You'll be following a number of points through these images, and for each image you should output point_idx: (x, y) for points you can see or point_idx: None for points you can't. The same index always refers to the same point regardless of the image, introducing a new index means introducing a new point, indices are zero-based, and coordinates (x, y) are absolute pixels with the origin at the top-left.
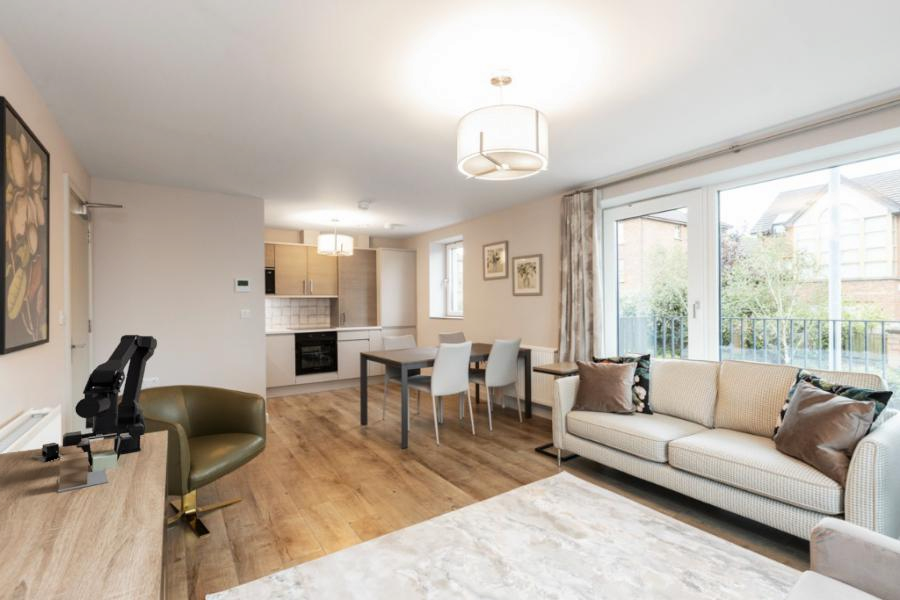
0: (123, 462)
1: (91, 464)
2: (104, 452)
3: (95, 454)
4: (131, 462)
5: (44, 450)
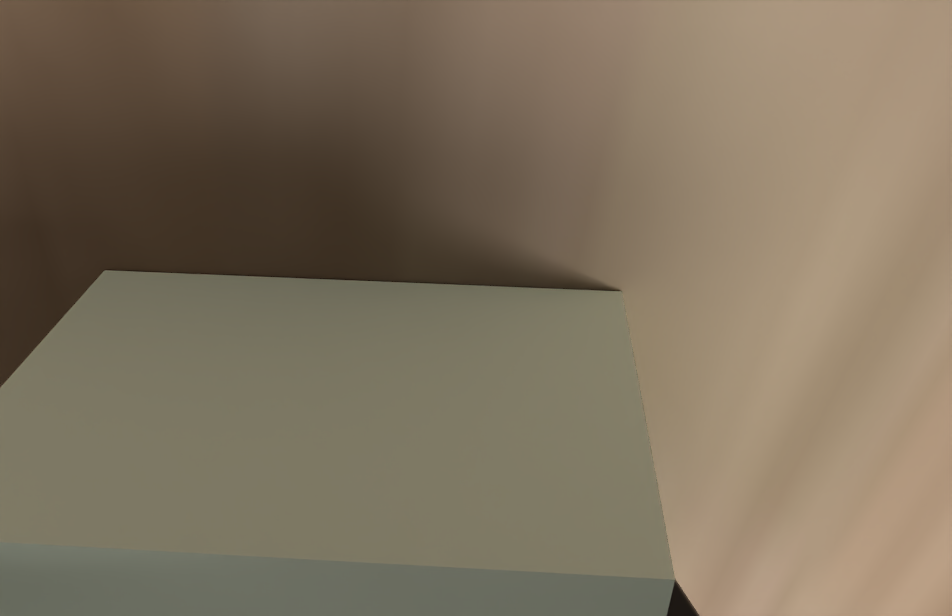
0: (782, 433)
1: None
2: (314, 576)
3: (27, 592)
4: (892, 539)
5: None
